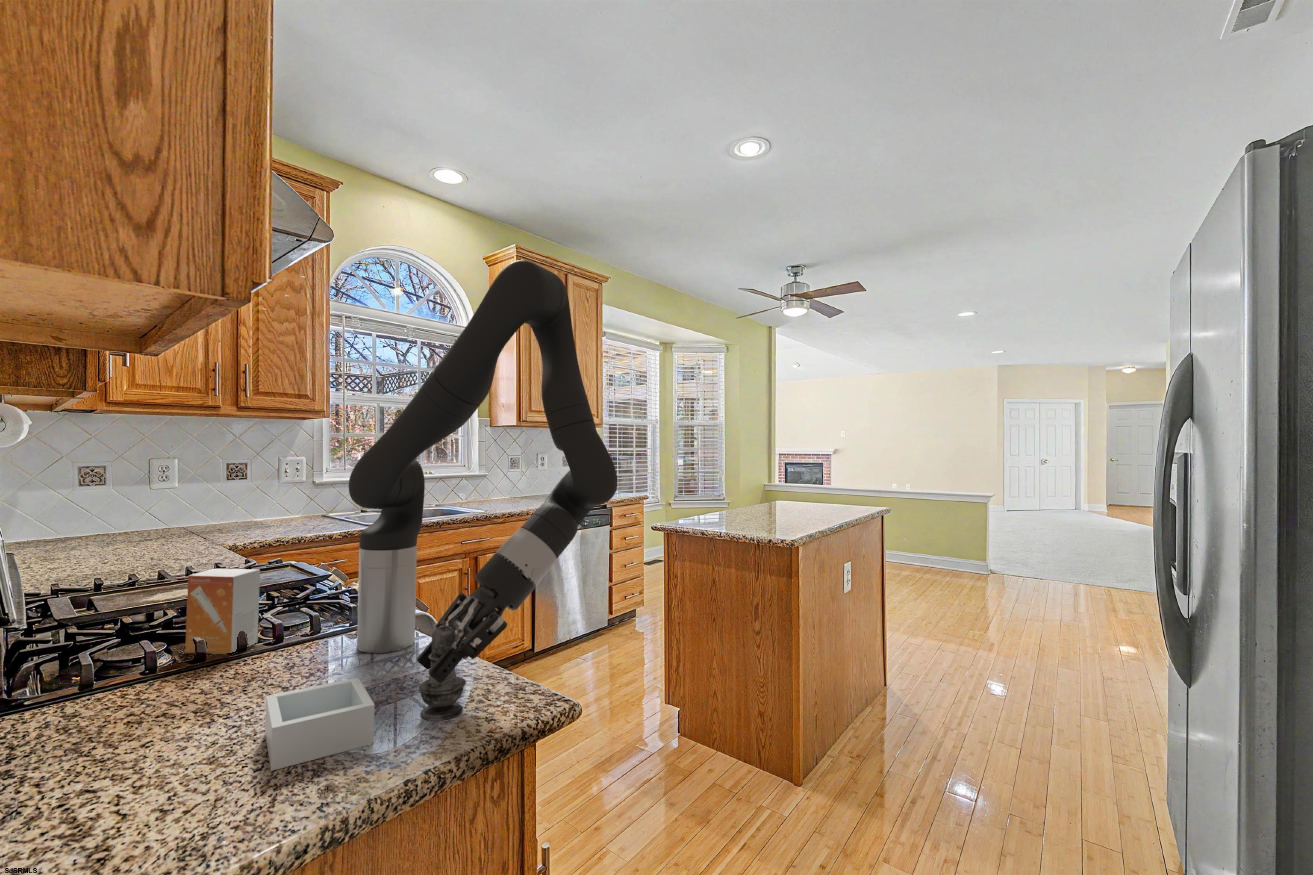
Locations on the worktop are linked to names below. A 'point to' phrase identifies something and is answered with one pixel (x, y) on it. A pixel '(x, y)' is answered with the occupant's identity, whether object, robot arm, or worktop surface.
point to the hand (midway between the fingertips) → (428, 671)
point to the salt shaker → (446, 692)
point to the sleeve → (318, 722)
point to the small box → (222, 608)
